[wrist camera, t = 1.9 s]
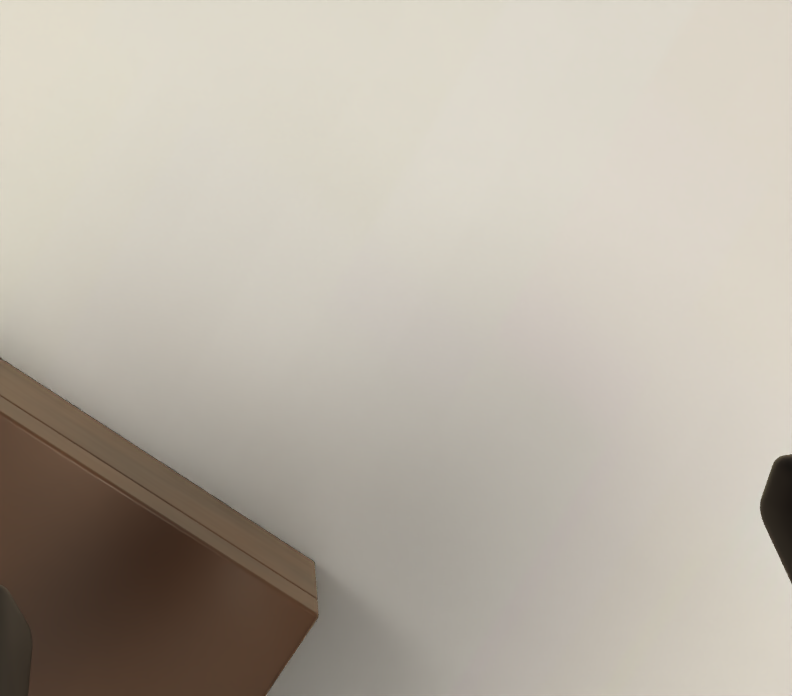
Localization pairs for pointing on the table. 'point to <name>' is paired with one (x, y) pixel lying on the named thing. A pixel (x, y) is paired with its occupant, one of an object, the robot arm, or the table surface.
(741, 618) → the table surface
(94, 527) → the desk shelf
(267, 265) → the table surface
